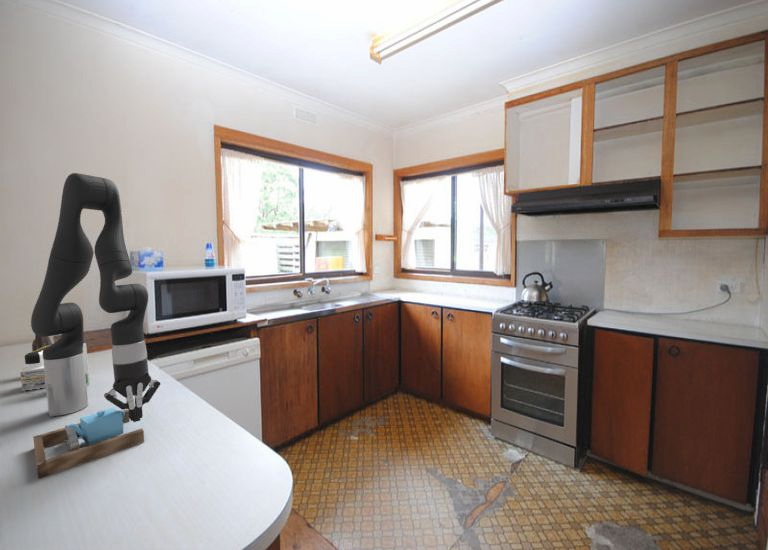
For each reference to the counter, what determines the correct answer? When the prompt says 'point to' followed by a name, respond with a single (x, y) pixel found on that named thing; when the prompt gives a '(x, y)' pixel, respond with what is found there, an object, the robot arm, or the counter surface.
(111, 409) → the teapot
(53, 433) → the bracket
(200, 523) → the counter surface
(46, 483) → the counter surface
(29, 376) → the container
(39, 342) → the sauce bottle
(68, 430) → the stop plate
